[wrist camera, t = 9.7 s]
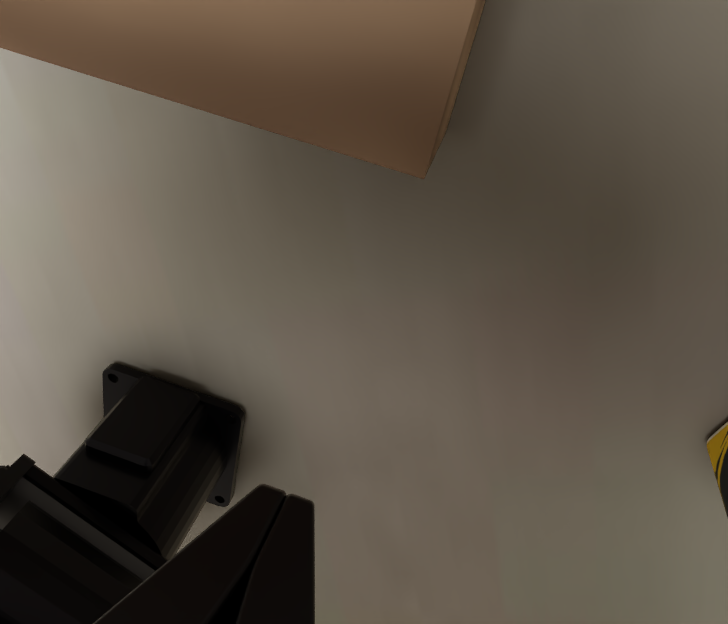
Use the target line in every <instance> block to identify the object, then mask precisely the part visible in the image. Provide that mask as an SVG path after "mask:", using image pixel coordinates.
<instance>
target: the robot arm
mask: <svg viewBox="0 0 728 624" xmlns="http://www.w3.org/2000/svg"><path fill="white" fill-rule="evenodd" d="M103 403H104V418H103V420H102V421H101V422H100V423H99V424H98V425H97V426H96V427H95V429H94V430H93V431H92V432H91V433H90V434H89V435H88V437H87V438H86V440H85V441H84V442H83V443H82V444H81V446H80V447H79V448H78V449H77V450H76V451H75V452H74V454H73V455H72V456H71V457H70V458H69V459H68V460H67V462H66V463H65V464H64V465H63V466H62V467H61V468H60V469H59V471H58V472H57V473H56V474H55V475H54V476H53V477H51V476H50V475H48V474H47V473H46V472H44V471H43V470H41V469H40V468H39V467H37V466H36V465H34V464H35V463H36V462H35V461H33V460H32V459H31V458H29V457H28V456H26V455H25V454H23V455H22V456H21V457H20V458H19V459H18V460H17V461H16V462H15V463H13V464H12V465H11V466H9V465H7V466H0V624H315V546H314V503H313V502H312V501H311V500H308V499H306V498H303V497H300V496H297V495H294V494H289V495H288V496H287V495H286V492H285V491H283V490H280V489H278V488H275V487H272V486H269V485H266V484H261V485H259V486H257V487H256V488H255V489H253V490H252V491H251V492H250V493H249V494H247V495H246V496H245V497H244V498H243V499H241V500H240V501H239V502H238V503H237V504H236V505H234V506H233V507H232V508H231V509H230V510H228V511H227V512H226V513H225V514H224V515H222V516H221V517H220V518H219V519H218V520H216V521H215V522H214V523H213V524H212V525H210V526H209V527H208V528H207V529H206V530H204V531H203V532H202V533H201V534H200V535H198V536H197V537H196V538H195V539H194V540H192V541H191V542H190V543H189V544H188V545H186V546H185V547H184V548H183V549H182V550H180V551H179V552H178V553H177V554H176V552H177V551H178V549H179V547H180V545H181V544H182V542H183V540H184V539H185V537H186V535H187V533H188V532H189V530H190V528H191V527H192V525H193V523H194V521H195V520H196V518H197V516H198V515H199V513H200V511H201V509H202V508H203V506H204V504H205V503H206V501H207V502H209V503H212V504H215V505H218V506H221V507H226V506H228V505H229V503H230V501H231V499H232V497H233V492H234V486H235V479H236V473H237V466H238V460H239V453H240V446H241V440H242V433H243V427H244V420H245V414H244V412H243V410H242V409H241V408H240V407H238V406H236V405H233V404H230V403H228V402H225V401H222V400H219V399H216V398H213V397H210V396H208V395H205V394H202V393H199V392H196V391H193V390H190V389H188V388H185V387H182V386H179V385H176V384H173V383H170V382H168V381H165V380H162V379H159V378H156V377H153V376H150V375H148V374H145V373H142V372H139V371H136V370H133V369H130V368H128V367H125V366H122V365H119V364H115V363H114V364H110V365H109V366H108V367H107V368H106V369H105V370H104V371H103ZM232 416H233V417H232ZM175 554H176V555H175Z"/></svg>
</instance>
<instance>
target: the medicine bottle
mask: <svg viewBox="0 0 728 624" xmlns="http://www.w3.org/2000/svg"><path fill="white" fill-rule="evenodd" d="M707 449H708V453H709V456H710V460H711V463H712V466H713V470H714V473H715V476H716V480H717V483H718V487H719V490H720V493H721V497H722V500H723V503H724V507H725V510H726V514H727V517H728V422H727V423H726V424H724V425H723V426H722V427H721V428H720V429H719V430H718V431H716V432H715V433H714V434H713V435H712V436H711V437H710V438H709V439H708V440H707Z"/></svg>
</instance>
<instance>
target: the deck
mask: <svg viewBox="0 0 728 624" xmlns="http://www.w3.org/2000/svg"><path fill="white" fill-rule="evenodd" d="M485 1H486V0H0V48H3V49H7V50H10V51H13V52H16V53H19V54H23V55H26V56H29V57H32V58H36V59H39V60H42V61H45V62H48V63H52V64H55V65H58V66H61V67H65V68H68V69H71V70H74V71H77V72H81V73H84V74H87V75H90V76H93V77H97V78H100V79H103V80H106V81H110V82H113V83H116V84H119V85H122V86H126V87H129V88H132V89H135V90H139V91H142V92H145V93H148V94H151V95H155V96H158V97H161V98H164V99H167V100H171V101H174V102H177V103H180V104H184V105H187V106H190V107H193V108H196V109H200V110H203V111H206V112H209V113H213V114H216V115H219V116H222V117H225V118H229V119H232V120H235V121H238V122H241V123H245V124H248V125H251V126H254V127H258V128H261V129H264V130H267V131H270V132H274V133H277V134H280V135H283V136H287V137H290V138H293V139H296V140H299V141H303V142H306V143H309V144H312V145H315V146H319V147H322V148H325V149H328V150H332V151H335V152H338V153H341V154H344V155H348V156H351V157H354V158H357V159H360V160H364V161H367V162H370V163H373V164H377V165H380V166H383V167H386V168H389V169H393V170H396V171H399V172H402V173H406V174H409V175H412V176H415V177H418V178H422V179H424V178H425V176H426V174H427V171H428V169H429V167H430V165H431V163H432V161H433V159H434V157H435V154H436V152H437V150H438V148H439V146H440V144H441V142H442V140H443V137H444V135H445V133H446V130H447V127H448V123H449V120H450V117H451V114H452V110H453V107H454V104H455V100H456V97H457V94H458V90H459V87H460V84H461V80H462V77H463V74H464V71H465V67H466V64H467V61H468V57H469V54H470V51H471V47H472V44H473V41H474V37H475V34H476V31H477V28H478V24H479V21H480V18H481V14H482V11H483V8H484V4H485Z"/></svg>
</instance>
